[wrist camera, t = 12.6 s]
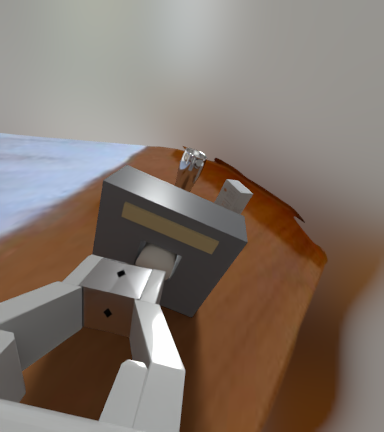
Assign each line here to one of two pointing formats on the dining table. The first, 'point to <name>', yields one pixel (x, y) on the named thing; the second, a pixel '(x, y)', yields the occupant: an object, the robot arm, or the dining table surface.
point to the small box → (233, 196)
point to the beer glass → (190, 169)
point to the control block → (168, 233)
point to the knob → (157, 259)
